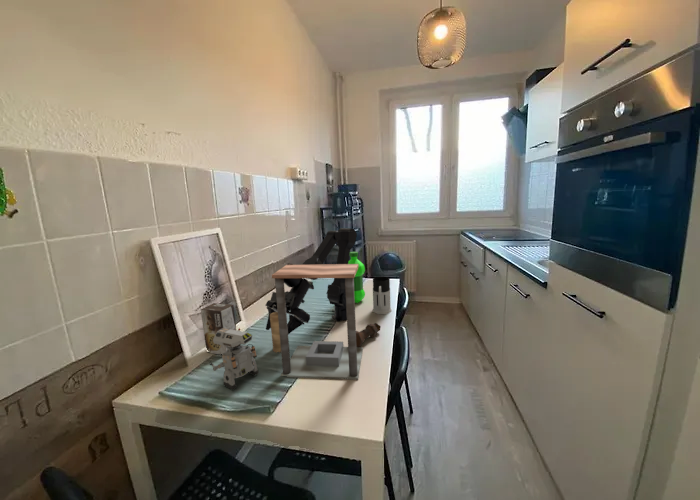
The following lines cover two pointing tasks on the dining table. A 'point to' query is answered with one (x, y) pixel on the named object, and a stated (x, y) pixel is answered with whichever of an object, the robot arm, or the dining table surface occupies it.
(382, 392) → the dining table surface
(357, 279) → the plastic bottle
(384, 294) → the glass holder
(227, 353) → the figurine
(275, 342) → the peg
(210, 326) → the coffee box
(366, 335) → the bolt
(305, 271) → the post and lintel frame
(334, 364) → the socket
